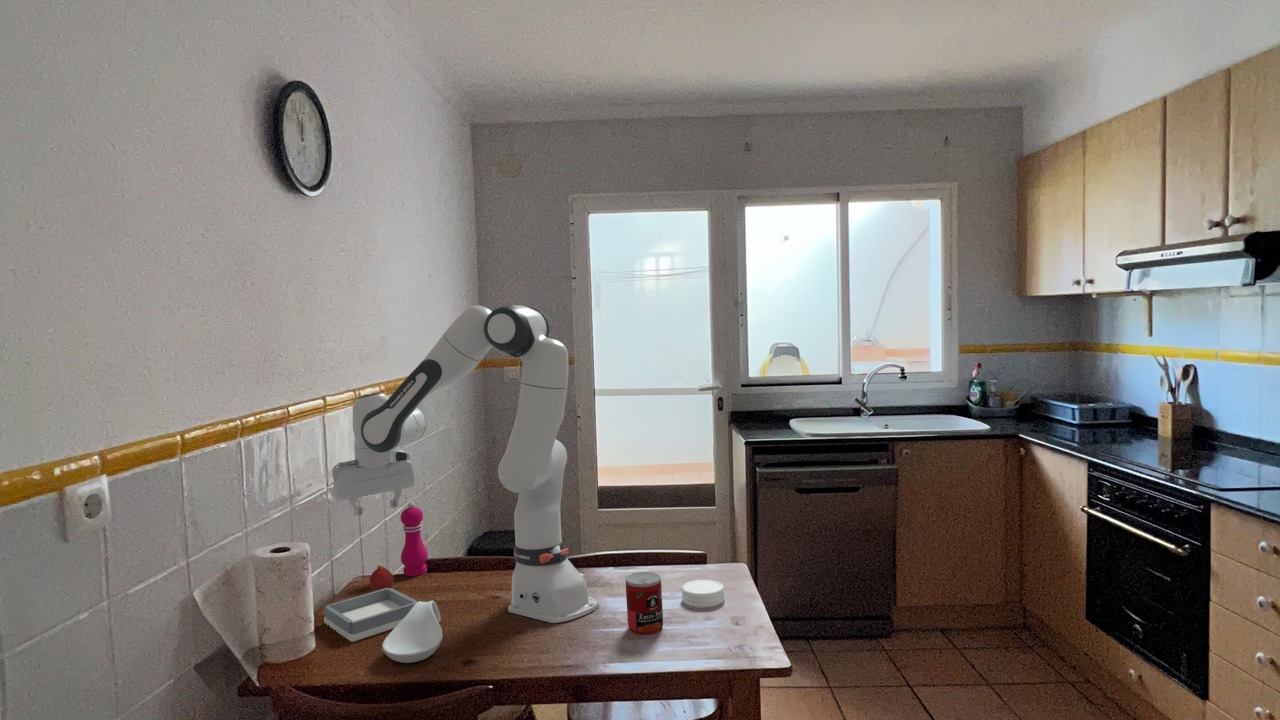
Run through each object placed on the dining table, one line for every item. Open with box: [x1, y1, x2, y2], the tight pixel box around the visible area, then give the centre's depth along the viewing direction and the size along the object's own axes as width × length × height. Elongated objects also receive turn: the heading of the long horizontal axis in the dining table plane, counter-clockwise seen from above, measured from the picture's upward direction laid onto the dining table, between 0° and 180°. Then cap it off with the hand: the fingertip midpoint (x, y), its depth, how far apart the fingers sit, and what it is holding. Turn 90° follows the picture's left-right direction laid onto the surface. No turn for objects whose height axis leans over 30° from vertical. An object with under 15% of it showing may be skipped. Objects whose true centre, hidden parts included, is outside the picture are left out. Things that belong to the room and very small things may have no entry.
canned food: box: [625, 571, 664, 636], centre depth 156 cm, size 8×8×11 cm
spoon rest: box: [381, 600, 443, 664], centre depth 153 cm, size 24×12×7 cm, turn 6°
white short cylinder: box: [681, 579, 726, 609], centre depth 170 cm, size 10×10×4 cm
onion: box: [368, 564, 394, 592], centre depth 184 cm, size 6×6×8 cm
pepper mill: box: [400, 501, 429, 577], centre depth 201 cm, size 7×7×20 cm
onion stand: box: [323, 587, 419, 643], centre depth 167 cm, size 16×16×4 cm
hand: (376, 511), depth 184 cm, fingers open, 8 cm apart
